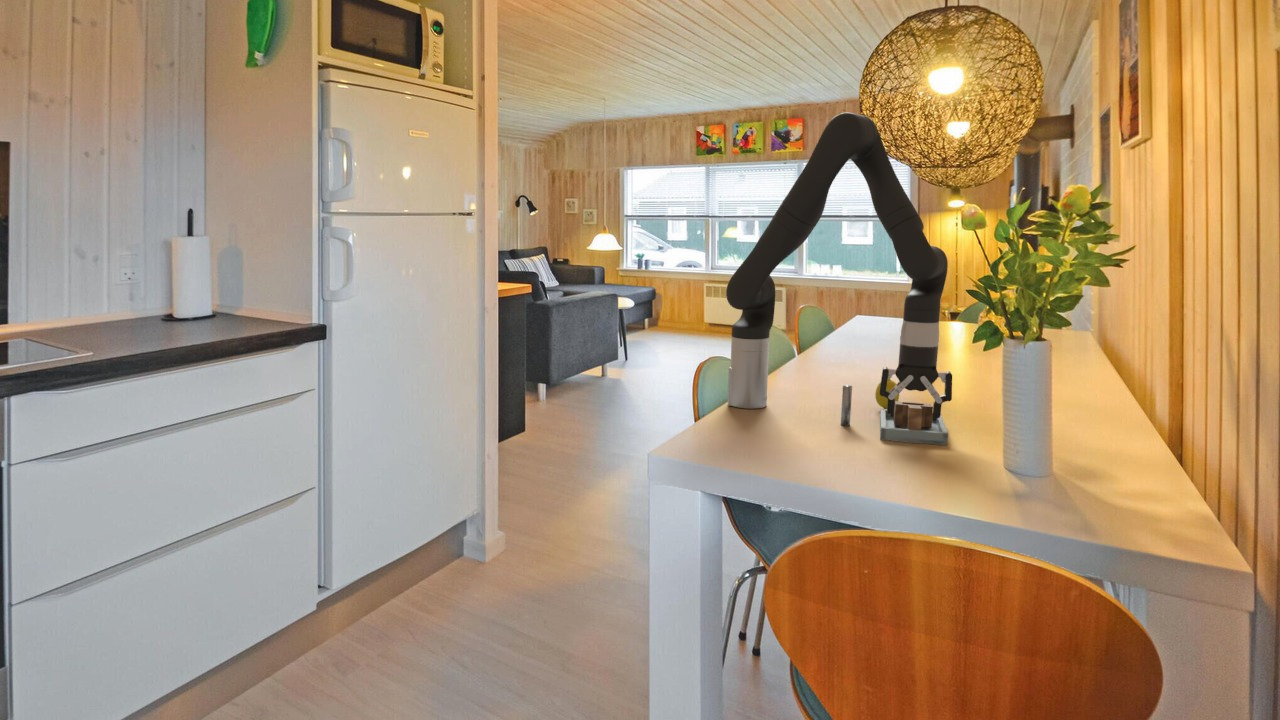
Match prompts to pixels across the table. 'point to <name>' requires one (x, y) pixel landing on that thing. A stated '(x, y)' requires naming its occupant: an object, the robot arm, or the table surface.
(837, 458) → the table surface
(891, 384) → the lemon
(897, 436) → the tray
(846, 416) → the peg
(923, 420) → the collar
